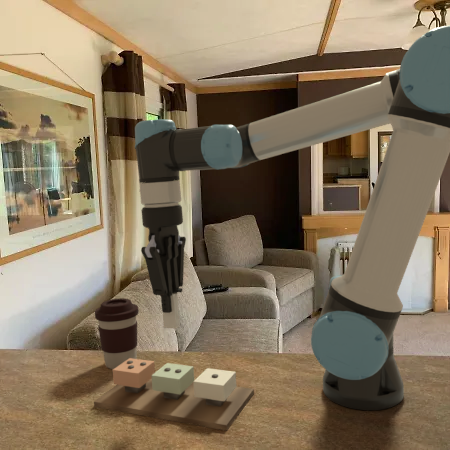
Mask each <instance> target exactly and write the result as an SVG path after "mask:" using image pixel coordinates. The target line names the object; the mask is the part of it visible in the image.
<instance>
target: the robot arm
mask: <svg viewBox="0 0 450 450" xmlns="http://www.w3.org/2000/svg"><path fill="white" fill-rule="evenodd" d="M389 124H390V125H391V128H392V132H391V133H392V134H391V136H390V139H389V142H388V145H387V147H386V151H385V153H384V156H383V160H382V163H381V166H380V169H379V172H378V174H377V177H376V181H375V183H374V187H373V189H372V192H371V195H370V197H369V201H368V204H367V207H366V209H365V212H364V215H363V218H362V221H361V223H360V227H359V230H358V233H357V237H356V239H355V241H354V245H353V248H352V250H351V253H350V257H349V258H348V259H349V260H348V262H347V265H346V268H345V271H344V273H343V274H341V275H340V274H339V275H334V276H332V277H331V278H330V279H329V286H328V292H327V295H326V297H325V299H324V304H323V306H322V309H321V312H320V314H319V316H318V317H319V318H317V320H316V321H315V322H314V324H313V327H312V329H311V337H310V342H311V343H310V345H311V349H312V353H313V355H314V357H315V358H316V360H317V361H318V364H320V366H322V367H323V368H324V369H325V370H324V373H323V378H322V390H323V394H324V395H325V396H326V398H327V399H328V400H330V401H332V402H333V403H335V404H336V405H340V406H341V407H346V408H350V409H353V410H361V411H379V410H386V409H389V408H392V407H395V406H397V405H398V404H400V403H401V402H402V401H403V399H404V396H405V395H404V394H405V393H404V385H405V384H404V382H403V379H402V374H401V372H400V370H399V366H398V365H397V364H398V363H397V361H396V359H395V355H394V351H395V350H394V331H395V329H396V326H397V323H398V321H399V320H400V319H399V318H400V315H401V313H402V310H403V308H404V304H403V302H402V301H401V299H400V297H399V295H398V292H399V289H400V287H401V284H402V280H403V279H404V277H405V273H406V271H407V268H408V265H409V262H410V260H411V257H412V255H413V251H414V249H415V246H416V244H417V242H418V241H417V240H418V238H419V236H420V233H421V230H422V228H423V225H424V222H425V221H426V217H427V215H428V212H429V209H430V207H431V203H432V202H433V199H434V195H435V193H436V191H437V187H438V185H439V182H440V181H441V177H442V174H443V172H444V170H445V166H446V165H447V164H446V163H447V161H448V157H449V156H450V25H444V26H440V27H436V28H433V29H431V30H429V31H427V32H425V33H424V34H422V35H420V37H418V38H417V39H416V40H415V41H414V42H412V45H410V46H409V48H408V49H407V51H406V52H405V54H404V55H403V58H402V60H401V64H400V68H398V69H396V70H392V71H389V72H386V73H385V75H384V76H383V78H382V80H380V81H377V82H374V83H371V84H369V85H365V86H363V87H359V88H356V89H353V90H350V91H346V92H344V93H341V94H337V95H334V96H331V97H328V98H325V99H324V98H323V99H321V100H319V101H316V102H312V103H308V104H305V105H302V106H299V107H296V108H294V109H290V110H286V111H284V112H281V113H277V114H275V115H271V116H269V117H265V118H262V119H258V120H256V121H253V122H249V123H246V124H243V125H240V126H237V127H236V126H235V125H233V124H212V125H209V126H200V127H191V128H183V129H181V128H179V129H178V128H177V127H176V123H175V121H173V120H172V119H166V118H165V119H162V118H161V119H160V118H159V119H148V120H142V121H139V122H138V123H137V124H136V125H135V126H134V138H135V139H134V141H135V144H134V149H135V152H136V154H135V155H136V162H137V164H136V165H137V170H138V171H137V173H138V183H139V195H140V196H139V197H140V204H141V205H143V206H144V207H142V209H141V219H142V226H143V228H147V229H148V237H147V238H148V244H147V246H142V247H141V250H140V251H141V254H142V256H143V257H144V260H145V264H146V265H145V266H146V269H147V273H148V278H149V281H150V286H151V290H152V294H153V295H155V296H160V300H161V301H160V302H161V311H162V322H163V323H162V324H163V328H164V329H175V330H176V329H178V328H180V327H181V323H180V313H179V312H180V311H179V298H178V293H182V292H183V285H184V263H185V262H184V261H185V259H184V258H185V245H186V241H187V238H186V236H180V235H179V234H180V233H179V229H178V226H180V225H182V224H183V222H184V221H183V220H184V219H183V217H184V216H183V206H182V205H181V204H180V202H181V201H182V191H181V183H180V172H186V171H187V172H188V171H205V170H206V171H207V170H218V171H219V170H226V169H239V168H244V167H246V166H248V165H250V164H252V163H253V164H254V163H255V162H258V161H261V160H265V159H269V158H273V157H277V156H280V155H282V154H288V153H290V152H294V151H297V150H301V149H306V148H308V147H312V146H316V145H319V144H323V143H327V142H329V141H333V140H336V139H337V140H338V139H340V138H343V137H347V136H350V135H355V134H358V133H361V132H364V131H368V130H372V129H375V128H379V127H382V126H383V127H384V126H386V125H389ZM180 287H181V288H180Z"/></svg>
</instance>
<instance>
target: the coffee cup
mask: <svg viewBox="0 0 450 450" xmlns="http://www.w3.org/2000/svg"><path fill="white" fill-rule="evenodd" d="M139 313H140V312H139V306H138V304H135V303H132V300H131V299H128V298H123V297H122V298H111V299H108V300H104V301H103V302H102V303H101V304H100V307H98V308H97V309H95V311H94V318H95V319H96V320H97V321H98V325H97V326H98V333H99V334H98V335H99V339H100V345H101V346H100V347H101V350H102V353H103V359H104V364H105V367H106V368H108V369H111V370H113V369H115V368H116V367H117V366H119V365H120V364H122V363H123V362H125V361H126V360H128V359H129V358H132V359H138V358H137V357H138V355H137V354H138V353H137V347H138V320H137V316H138V315H139Z"/></svg>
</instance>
